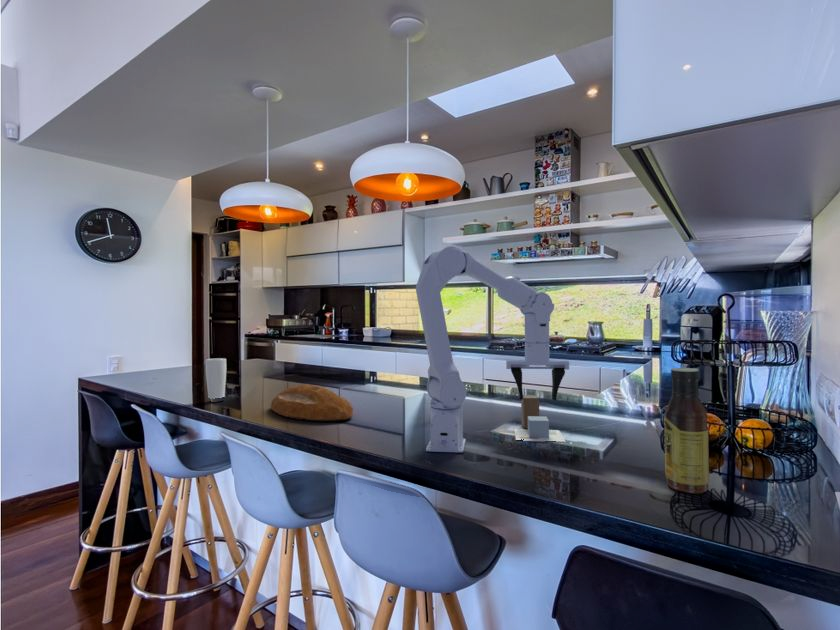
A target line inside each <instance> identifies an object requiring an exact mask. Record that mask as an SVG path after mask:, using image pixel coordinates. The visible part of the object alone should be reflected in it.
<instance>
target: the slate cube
mask: <svg viewBox="0 0 840 630" xmlns="http://www.w3.org/2000/svg"><path fill="white" fill-rule="evenodd" d="M527 430H528V434H529V437H533V438H549V430H550V421H549V419H548V416H542V415H541V416H540V415H539V416H528V429H527Z"/></svg>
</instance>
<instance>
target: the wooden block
mask: <svg viewBox="0 0 840 630" xmlns="http://www.w3.org/2000/svg"><path fill="white" fill-rule="evenodd" d="M520 401H521V402H520V403H521V405H520V406H521V407H520V409H521V413H520V414H521V419H520V420H521V426H522V427H523V429H525V430H528V416H540V398H539V397H538V396H537V395H535V394H532V395H531V394H529V395H528V394H523V400H520Z"/></svg>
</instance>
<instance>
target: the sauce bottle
mask: <svg viewBox="0 0 840 630" xmlns="http://www.w3.org/2000/svg"><path fill="white" fill-rule="evenodd" d="M670 378H671V379H672V380H671V381H672V383H671V384H672V386H671V387H672V391H671V397H670V399H669V401H668V405H667V406H666V410H665V412H664V419H663V420H664V455H665V456H664V461H665V464H664V465H665V467H664V468H665V469H664V470H665V471H664V472H665V474H664V475H665V476H666V483H667V485H668V486H669V488H671V489H672V490H676V491H679V492H681V493H688V494H693V495H694V494H695V495H699V494H702V493H705V492H707V491H709V490H708V489H709V481H710V466H709V465H710V460H709V457H710V456H709V455H710V453H709V450H710V448H709V426H708V411H707V409H706V406H705V405H704V404H703V402H702V401H701V399H700V398H699V396H700V392H699V381H700V370H699V369H697V368H692V367H691V368H690V367H673V368H671V369H670Z"/></svg>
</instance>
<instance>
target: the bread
mask: <svg viewBox="0 0 840 630" xmlns="http://www.w3.org/2000/svg"><path fill="white" fill-rule="evenodd" d="M270 408H271V410H272V411H273V412H274V413H276V414H278V415H280V416H283V417H286V418H288V417H290V418H289V419H294V418H295V420H302V419H305V420H304V421H317V422H320V421H321V422H333V421H344V420H348V419H350V418H351V417H353V415H354V407H353V406H352V404H351V402H350V401H348V400H347V398H344V397H342V396H339V395H337V394H336V393H335V392H334V391H332V390H329V389H327V388H325V387H323V386H319V385H312V384H309V383H307V384H304V383H303V384H297V385H293V386H290V387H288V388H286V389H283V390H282V391H281V392H280V393H278V394H277V395H276V396H275V397H273V399H272V400H271V404H270Z"/></svg>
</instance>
